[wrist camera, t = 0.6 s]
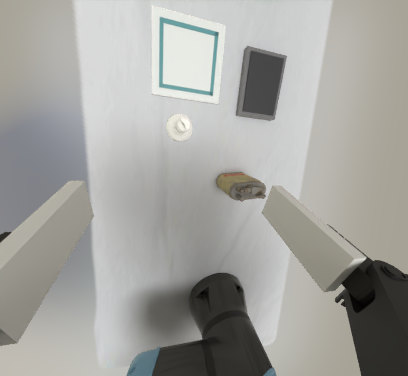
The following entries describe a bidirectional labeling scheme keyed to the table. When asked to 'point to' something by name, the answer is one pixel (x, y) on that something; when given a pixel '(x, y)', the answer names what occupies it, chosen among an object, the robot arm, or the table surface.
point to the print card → (186, 56)
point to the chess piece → (179, 127)
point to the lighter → (241, 186)
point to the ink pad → (260, 83)
